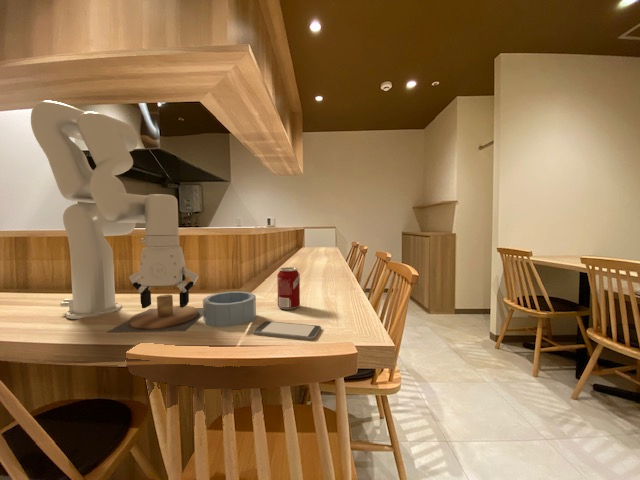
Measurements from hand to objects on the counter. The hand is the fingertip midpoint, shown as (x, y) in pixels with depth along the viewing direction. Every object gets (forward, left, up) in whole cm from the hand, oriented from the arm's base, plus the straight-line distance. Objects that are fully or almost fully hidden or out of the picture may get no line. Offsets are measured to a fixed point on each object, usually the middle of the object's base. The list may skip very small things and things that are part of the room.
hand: (165, 306), depth 74 cm
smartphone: (+33, -9, -4) cm, 34 cm away
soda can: (+32, +10, -4) cm, 34 cm away
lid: (0, 0, -3) cm, 3 cm away
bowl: (+17, 0, -4) cm, 17 cm away
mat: (0, 0, -4) cm, 4 cm away
